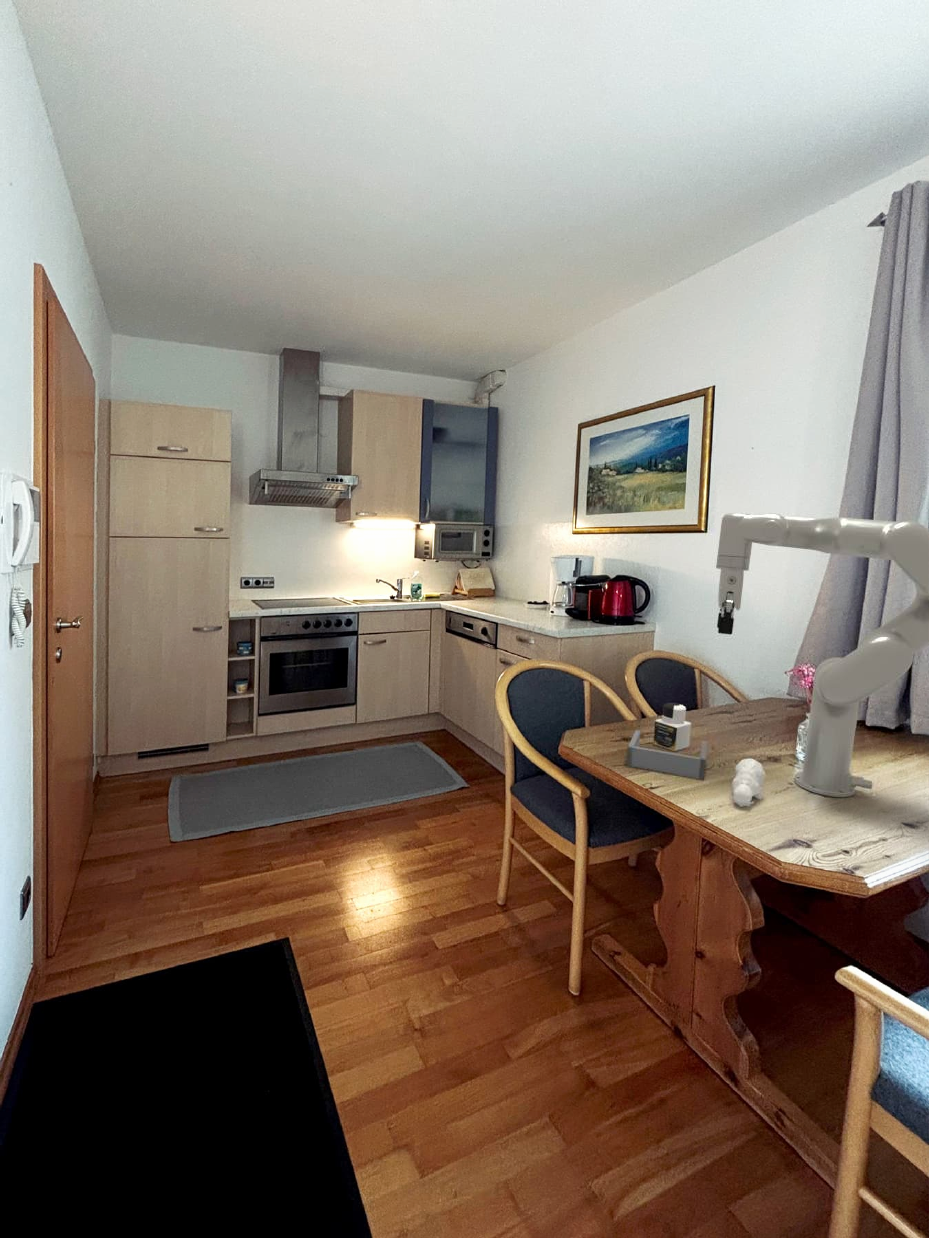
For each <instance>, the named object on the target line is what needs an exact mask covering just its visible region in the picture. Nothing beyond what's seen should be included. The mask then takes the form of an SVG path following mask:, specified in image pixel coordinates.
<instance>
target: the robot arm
mask: <svg viewBox="0 0 929 1238" xmlns="http://www.w3.org/2000/svg"><path fill="white" fill-rule="evenodd" d="M719 532H720V534H719V541H718V548H717V556H716V557H717V558H716V565H715V568H716V569H719V570H720V573H719V575H720V576H719V583H718V584H719V585H718V598H717V600H718V602H717V603H718V607H719V608H720V609H719V612H718V616H717V625H716V627H717V633H718V634H720V635H732V634H733V630H734V629H733V628H734V623H735V618H734V615H735V609H736V611H740V610H741V606H742V604H741V602H742V594H743V588H744V587H743V586H744V576H745V575H744V574H745V573H744V572H745V571H746V572H747V571H749V570H750V569H749V568H750V563H751V562H750V561H751V557H752V556H751V555H752V547H753V543H754V544H760V545H765V546H769V547H770V546H772V547H783V548H792V549H793V548H794V549H802V550H812V551H816V552H820V553H825V554H830V555H840V556H849V557H859V558H868V559H875V560H876V559H877V560H887V561H893V562H894V563H895V564H896V565H897V566H898V567H899V568H900V569H901V571H903V573H904V574H905V575H906V576H907V577H908V579H910V580H911V581H912V582H913V583H914V586H915V589H916V594H915V598H914V600H913V602H912V603H910V605H909V606H908V607H906V608H905V610H903V611H902V612H900V613H899V614H898V615H896V616H895V617H894V618H892V619H890V620H889V621H887V622H886V623H883V625H881V626H880V627H878V628H876V629H874V630H873V631H871V632H870V633H868V634H866V635H864V637H862V638H861V639H860V640H859V642H858V644H857V648H856V649H855V650H852V651H851V652H850V653H848V654H847V655H844V656H843V657H837V656H836V657H830V658H827V659H825V660H823V661H822V662H821V663H820V664H819V665H818V666H817V667H816V669H815V671H814V676H813V681H812V682H813V683H812V695H811V702H810V704H811V706H810V712H809V721H808V726H807V727H808V728H807V734H806V741H805V750H804V756H803V757H804V758H803V764H802V771H801V772H797V773H796V774H794V777H793V782H795V784H796V785H797V786H799V787H800V788H802V789H804V790H807V791H809V792H813V793H815V794H818V795H821V796H828V797H833V798H848V797H852V796H854V795H855V791H856V787H860V788H863V789H869V790H872V788H873V781H872V780H869V779H864V777H863V776H858V775H853V774H852V773H851V772H850V771H851V770H850V769H851V762H852V757H853V756H852V755H853V748H854V741H855V737H856V735H855V734H856V729H857V722H858V713H859V706H860V705H859V704H860V702H862V701H864V700H866V699H867V698H869V697H871V696H872V695H873V694H875V693H877V692H878V691H880V690H882V689H884V688H885V687H886V686H889V685H890V684H891V683H893V682H895V681H897V679H899V678H901V677H902V676H903V675H905V674H906V672H907V671H909V669H911V666H912V664H913V662H914V655H915V654H916V653H918V652H920V651H921V650H923V649H924V648H926V647H928V645H929V529H928V528H927V527H926V526H925V525H923V524H921V523H920V522H916V521H912V520H911V521H910V520H909V521H907V520H906V521H905V520H904V521H893V520H892V521H891V520H879V519H878V520H877V519H867V518H866V519H863V518H855V517H829V518H811V517H810V518H808V517H807V518H805V517H794V516H784V515H783V516H782V515H780V514H777V513H762V514H749V513H738V512H737V513H735V512H734V513H733V512H732V513H725V514H724V515H723V517H722V519H721V525H720V531H719Z"/></svg>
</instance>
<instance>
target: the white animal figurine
mask: <svg viewBox="0 0 929 1238" xmlns="http://www.w3.org/2000/svg"><path fill="white" fill-rule="evenodd" d="M734 769H735V772H736V776H735V777H734V778H733V780H732V783H731V785H732V786H731V787H732V788H733V790H732V792H733V796H732V795H730V797H731V798H732V799H733V800H732V801H733V802H734V803H735V804H737V805H738V806H739V807H740V808H743V807H752V805H753V804H754V803H755V801H752V799H753V797H754V798H756V799H757V800H761V799H762V796H761V794H762V793H763V788H761V785H762V784H763V783H764V780H765V778H766V772H765V771H764V768H763V765H762V764H761V762H759V761H757V760H756V759H753V758H745V759H744V758H743V759H742V760H740V761H739V763H738V764H736V766H735V768H734Z"/></svg>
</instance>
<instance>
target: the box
mask: <svg viewBox="0 0 929 1238" xmlns="http://www.w3.org/2000/svg"><path fill="white" fill-rule="evenodd" d="M631 737H632V738H631V740H630V741H629V744H628V746H627V754H626V755H627V756H626V767H631V768H632V767H633V768H636V767H637V769H641V770H642V769H643V770H647V769H649V771H653V772H658V771H661V772H660V773H663V772H665V773H664V774H669V775H674V774H675V776H680V777H685V776H686V777H685V778H691V779H696V780H703V781H705V772H706V771H705V770H706V762H707V752H708V751H707V750H708V748H707V747H708V741H706V740H701V750H700V757H698V756H692V755H687V754H682V753H677V752H676V753H675V752H668V751H664V750H663V751H662V750H657V749H652V748H651V749H650V748H645V747H641V746H640V740H641V730H638V729H636V730H635V731H634V733H633V735H632V736H631Z"/></svg>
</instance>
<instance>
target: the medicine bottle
mask: <svg viewBox="0 0 929 1238" xmlns="http://www.w3.org/2000/svg"><path fill="white" fill-rule="evenodd" d="M662 707H663V708H662V716H661V717H662V718H657V719H656V720H654V731H653V742H652V744H653V745H655V746H658V747H661V748H664V749H666V750H669V751H673V752H678V751H680V750H683V749H686V748H689V747H690V741H691V730H692V723H691V722H689V721H687V720H686V714H687V713H686V712H687V708H686V706H684V705H683V704H680V703H677V702H667V703H665V704H663V706H662Z"/></svg>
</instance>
